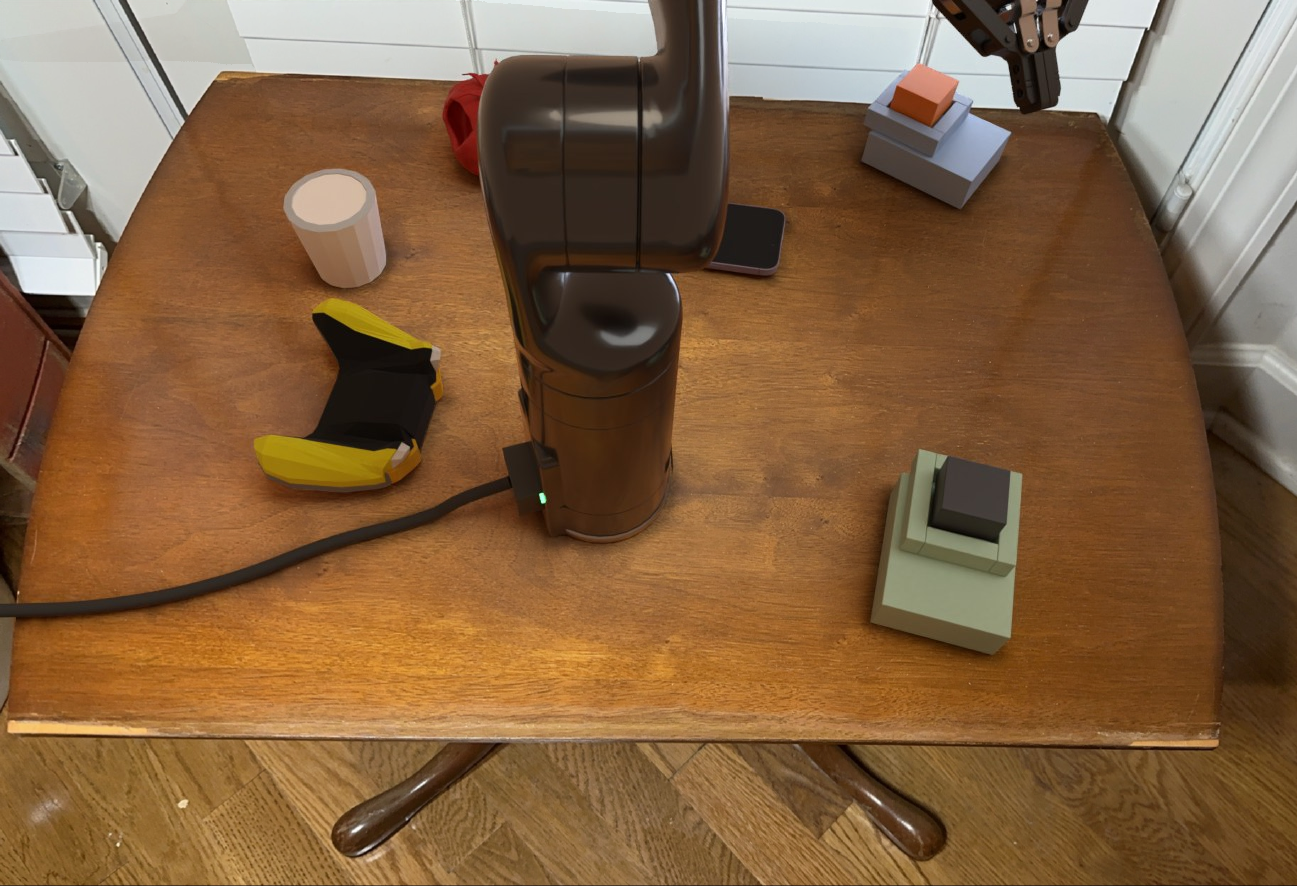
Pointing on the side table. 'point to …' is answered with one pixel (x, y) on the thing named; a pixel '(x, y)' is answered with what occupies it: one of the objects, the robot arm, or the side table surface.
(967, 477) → the charcoal key
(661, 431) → the robot arm
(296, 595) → the side table surface
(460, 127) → the pomegranate
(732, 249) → the smartphone
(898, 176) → the blue-grey socket block
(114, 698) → the side table surface
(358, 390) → the gaming controller
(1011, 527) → the green stepped block
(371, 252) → the pale pink cylinder
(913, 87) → the orange key
